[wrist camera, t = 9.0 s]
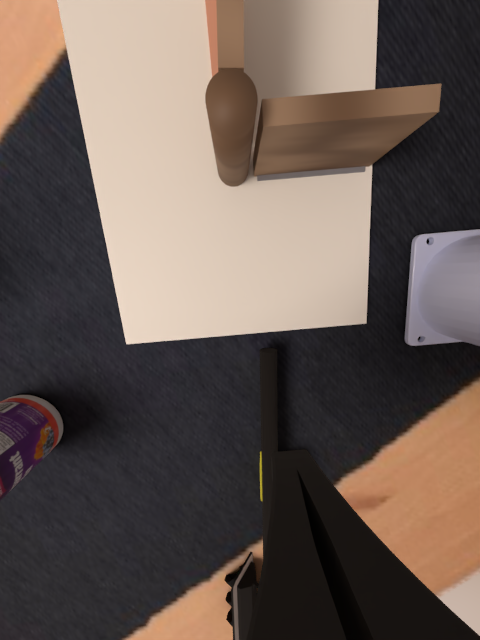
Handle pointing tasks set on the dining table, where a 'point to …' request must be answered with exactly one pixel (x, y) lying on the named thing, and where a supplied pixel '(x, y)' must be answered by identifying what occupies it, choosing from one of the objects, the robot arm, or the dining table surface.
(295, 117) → the frame
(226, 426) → the dining table surface
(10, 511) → the dining table surface
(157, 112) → the card
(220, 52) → the gate panel
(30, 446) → the pill bottle
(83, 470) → the dining table surface
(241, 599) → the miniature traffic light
